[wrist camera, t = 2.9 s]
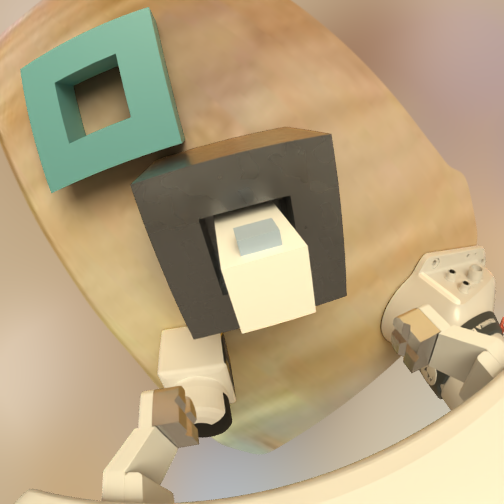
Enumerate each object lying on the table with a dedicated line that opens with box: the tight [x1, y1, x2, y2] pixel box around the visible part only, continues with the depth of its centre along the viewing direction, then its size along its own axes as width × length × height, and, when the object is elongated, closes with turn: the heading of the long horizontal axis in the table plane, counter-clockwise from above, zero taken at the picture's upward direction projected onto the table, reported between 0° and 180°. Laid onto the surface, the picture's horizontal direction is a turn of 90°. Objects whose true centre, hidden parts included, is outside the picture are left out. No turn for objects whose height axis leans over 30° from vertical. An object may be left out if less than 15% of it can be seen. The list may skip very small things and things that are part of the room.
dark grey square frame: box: [131, 127, 347, 339], centre depth 23 cm, size 12×12×10 cm
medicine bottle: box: [157, 326, 236, 437], centre depth 29 cm, size 7×7×12 cm
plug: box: [213, 200, 316, 334], centre depth 18 cm, size 4×5×9 cm
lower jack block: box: [20, 7, 185, 193], centre depth 19 cm, size 12×12×4 cm
